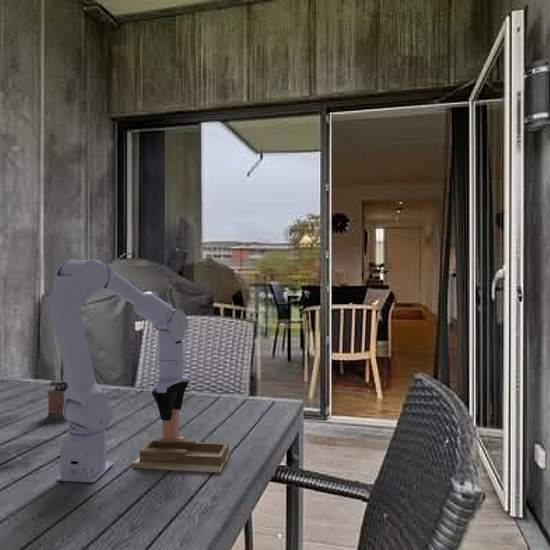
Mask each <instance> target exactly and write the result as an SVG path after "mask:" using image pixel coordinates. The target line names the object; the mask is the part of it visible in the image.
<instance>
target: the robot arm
mask: <svg viewBox="0 0 550 550" xmlns="http://www.w3.org/2000/svg"><path fill="white" fill-rule="evenodd" d="M53 275H54V280H55V281H54V285H53V289H52V292H51V296H50V301H49V309H50V312H51V317H52V322H53V327H54V331H55V334H56V335H55V336H56V340H57V345H58V348H59V352H60V358H61V362H62V366H63V371H64V375H65V380H66V381H67V384H68V388H67V390H66V391H65V392H64V394H63V395H64V406H63V415H64V418H63V419H65V420H66V421H67V422H68V436H67V439H66V441H64V442H63V443H62V446H61V447H60V475H58V476H57V477H56V481H59V482H60V481H61V482H62V481H63V482H75V483H77V482H78V483H95V482H96V481H97V480H99V478H101V477H102V476H103V474H105V473H106V472H107V471H108V470H109V469H110V468H111V467H112V466H113V465H114V461H107V429H108V428H107V427H108V426H109V424H110V423H111V421H112V419H113V415H114V414H113V407H112V405H111V404H110V403H109V402H108V400H107V398H106V394H105V392H104V391H103V389H102V388H101V386H100V385H99V384H98V382H97V381H96V375H95V371H94V367H93V361H92V357H91V353H90V348H89V344H88V339H87V335H86V330H85V325H84V322H83V321H84V320H83V316H82V311H81V310H82V307H83V306H84V304H85V303H86V302H87V301H88V300H89V299H90V298H91V297H93V296H95V294H97V293H98V292H99V291H101V290H102V289H106V290H107V291H109V292H111V293H113V294H114V295H116V296H117V297H120V299H123V300H124V301H127V302H128V303H130V304H131V305H132V306H133V310H134V313H135V314H137V315H138V316H140V317H142V318H143V319H145V320H147V322H150V323H151V324H153V325H152V326H153V327H154V329H155V330H156V331H158V376H157V382H158V383H156V388H155V389H153V390H152V391H151V396H152V397H153V399H154V400H155V403H156V406H157V408H158V412H159V415H160V419H161V421H163V420H166V421H170V420H171V417H172V410H173V409H179V412H181V410H182V405H183V400H184V397H185V392H186V389H187V387H188V386H189V383H190V381H189V376H185V371H184V340H185V334H186V330H187V329H188V325H189V320H188V318H187V316H186V313H185V312H184V311H183V310H181V309H175V308H174V307H173V304H172V303H171V302H166V301H165V300H163V299H162V298H160V297H159V293H158V292H156V291H143V292H142V291H141V290H140V289H138V288H137V287H136V286H134V284H132V283H131V282H129V281H128V280H127V279H126V278H124V277H123V276H121V275H120V274H119V273H118V272H116V271H115V270H114V269H113V267H111V266H109V265H107V264H105V263H104V262H103V261H101V260H99V259H94V258H93V259H75V258H73V259H72V258H71V259H67V260H64V261H63V263H61V265H60V266H59V267H58V268H57V269H56V271H55V272H54V273H53Z"/></svg>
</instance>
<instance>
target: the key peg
mask: <svg viewBox="0 0 550 550" xmlns="http://www.w3.org/2000/svg"><path fill="white" fill-rule="evenodd" d="M162 438H174V439H185V436H180V411H179V409H173V410H172V417H171V420H170V421H166V420H162Z"/></svg>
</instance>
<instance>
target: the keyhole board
mask: <svg viewBox="0 0 550 550" xmlns="http://www.w3.org/2000/svg"><path fill="white" fill-rule="evenodd" d="M229 446H230V445H229V443H220V442H202V441H200V442H198V441H196V439H190V438H184V439H174V438H163V437H152V438H151V439H150V440H148V442H147V443H145V445H144V446H143V447H142V448H141V449H139V456H138V457H137V458H136V459H135V460H134V461H133V462H132V468H133V469H148V470H165V471H167V470H168V471H186V472H188V471H189V472H204V473H207V472H208V473H221V472H222V470H223V468H224V467H225V465H226V463H227V461H228V459H229V458H230V456H231V450H230V449H229V448H230V447H229Z"/></svg>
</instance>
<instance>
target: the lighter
mask: <svg viewBox="0 0 550 550" xmlns="http://www.w3.org/2000/svg"><path fill="white" fill-rule="evenodd" d="M49 385H50V387H54V388H49V389H47V394H48V396H47V397H48V413H47V418H49V419H50V418H51V419H65V418H64V415H63V406H64V395H63V394H64V392H65V391H66V390H67V388H68V384H67V380H66V379H64V380H62V381H61V380H60V381H59V380H58V381H57V380H56V381H55V380H51V381H50V383H49Z"/></svg>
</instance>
